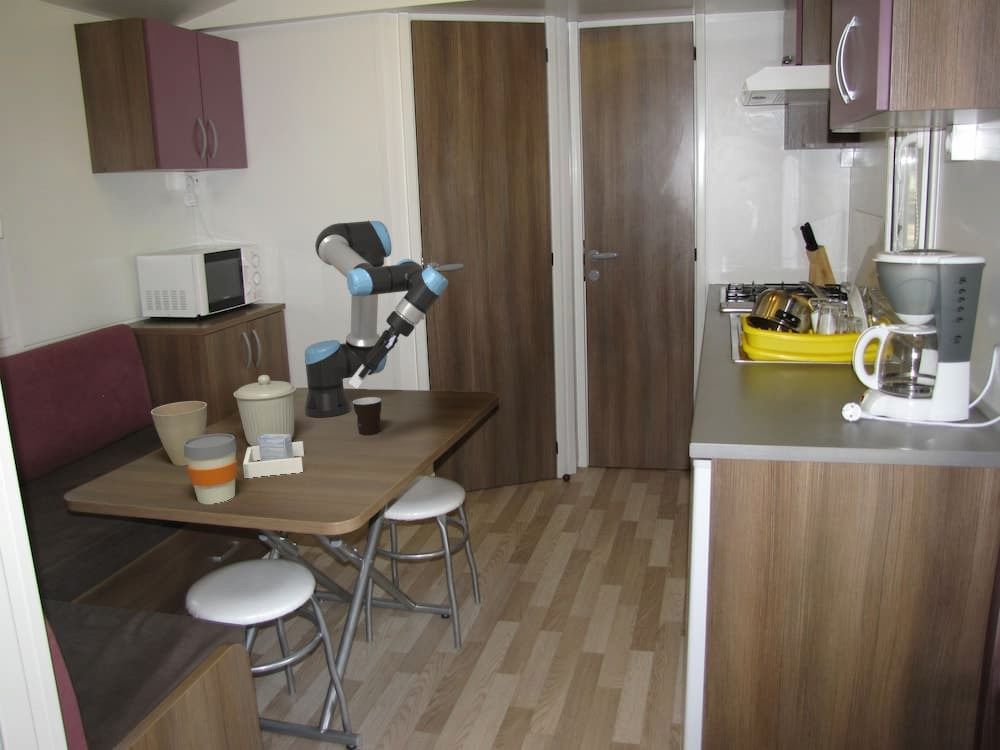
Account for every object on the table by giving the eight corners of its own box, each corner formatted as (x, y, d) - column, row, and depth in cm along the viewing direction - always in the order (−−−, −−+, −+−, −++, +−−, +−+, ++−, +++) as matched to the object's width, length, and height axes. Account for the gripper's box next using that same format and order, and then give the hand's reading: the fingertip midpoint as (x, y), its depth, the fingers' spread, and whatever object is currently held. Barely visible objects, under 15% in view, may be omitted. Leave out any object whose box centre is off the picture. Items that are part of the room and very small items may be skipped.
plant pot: (194, 450, 268) (187, 398, 265) (224, 459, 259) (217, 404, 256) (148, 464, 257) (140, 410, 254) (176, 473, 248) (169, 417, 244)
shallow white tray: (249, 460, 257) (247, 446, 256) (304, 454, 259) (302, 441, 258) (244, 478, 241) (242, 464, 240) (302, 472, 244) (301, 458, 243)
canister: (313, 441, 272) (307, 372, 267) (261, 456, 259) (253, 385, 255) (279, 431, 284) (272, 365, 280) (228, 446, 272) (219, 377, 267)
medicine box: (294, 463, 252) (291, 433, 250) (287, 469, 248) (284, 438, 246) (268, 463, 253) (265, 433, 252) (261, 468, 249) (257, 438, 247)
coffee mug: (378, 436, 273) (375, 404, 271) (351, 436, 275) (348, 404, 273) (390, 425, 285) (388, 394, 282) (364, 425, 286) (361, 394, 284)
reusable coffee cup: (179, 504, 224) (171, 446, 221) (212, 487, 236) (205, 431, 232) (221, 509, 220) (214, 449, 216) (252, 491, 231) (246, 434, 228)
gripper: (418, 330, 244) (364, 399, 246) (413, 321, 256) (362, 386, 258) (395, 314, 242) (342, 383, 243) (392, 305, 254) (341, 371, 256)
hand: (352, 385), depth 251 cm, fingers closed
